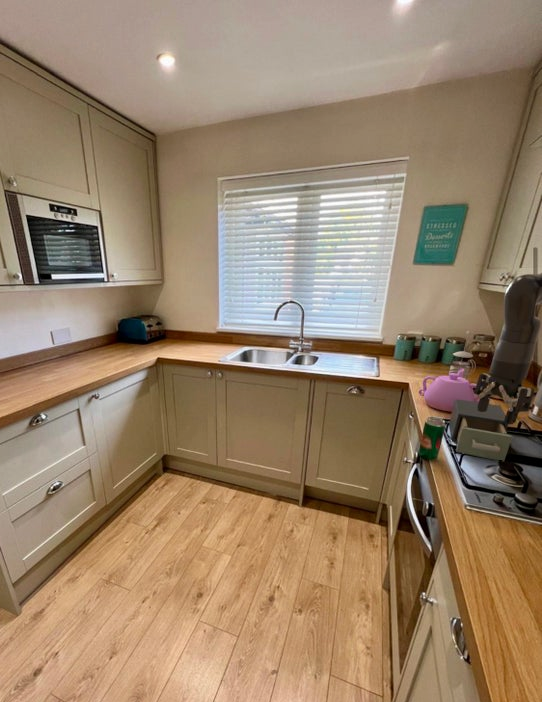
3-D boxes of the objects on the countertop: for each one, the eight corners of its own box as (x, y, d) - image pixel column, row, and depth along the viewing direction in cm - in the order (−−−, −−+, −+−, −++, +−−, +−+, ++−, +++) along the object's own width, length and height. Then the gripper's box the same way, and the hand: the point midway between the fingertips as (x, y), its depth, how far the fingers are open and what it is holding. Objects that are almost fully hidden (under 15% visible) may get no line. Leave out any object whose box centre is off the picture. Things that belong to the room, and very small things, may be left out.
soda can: (413, 453, 99) (421, 416, 95) (429, 452, 100) (438, 415, 96) (424, 461, 95) (433, 424, 90) (441, 460, 95) (451, 423, 91)
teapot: (485, 404, 135) (495, 372, 130) (474, 420, 120) (484, 384, 115) (426, 392, 149) (432, 362, 144) (410, 405, 135) (416, 372, 130)
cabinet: (499, 450, 100) (509, 421, 97) (451, 441, 106) (458, 413, 103) (492, 431, 112) (500, 405, 109) (448, 424, 118) (455, 399, 115)
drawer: (507, 469, 89) (515, 443, 86) (457, 458, 94) (463, 434, 92) (496, 441, 104) (503, 419, 101) (453, 433, 109) (458, 412, 106)
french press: (454, 378, 169) (467, 328, 160) (476, 385, 158) (491, 332, 149) (440, 380, 166) (451, 330, 157) (461, 387, 155) (475, 334, 147)
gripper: (554, 365, 77) (532, 428, 83) (501, 352, 90) (485, 406, 96) (524, 366, 76) (504, 429, 82) (475, 352, 89) (461, 408, 95)
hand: (494, 417), depth 89 cm, fingers open, 8 cm apart
